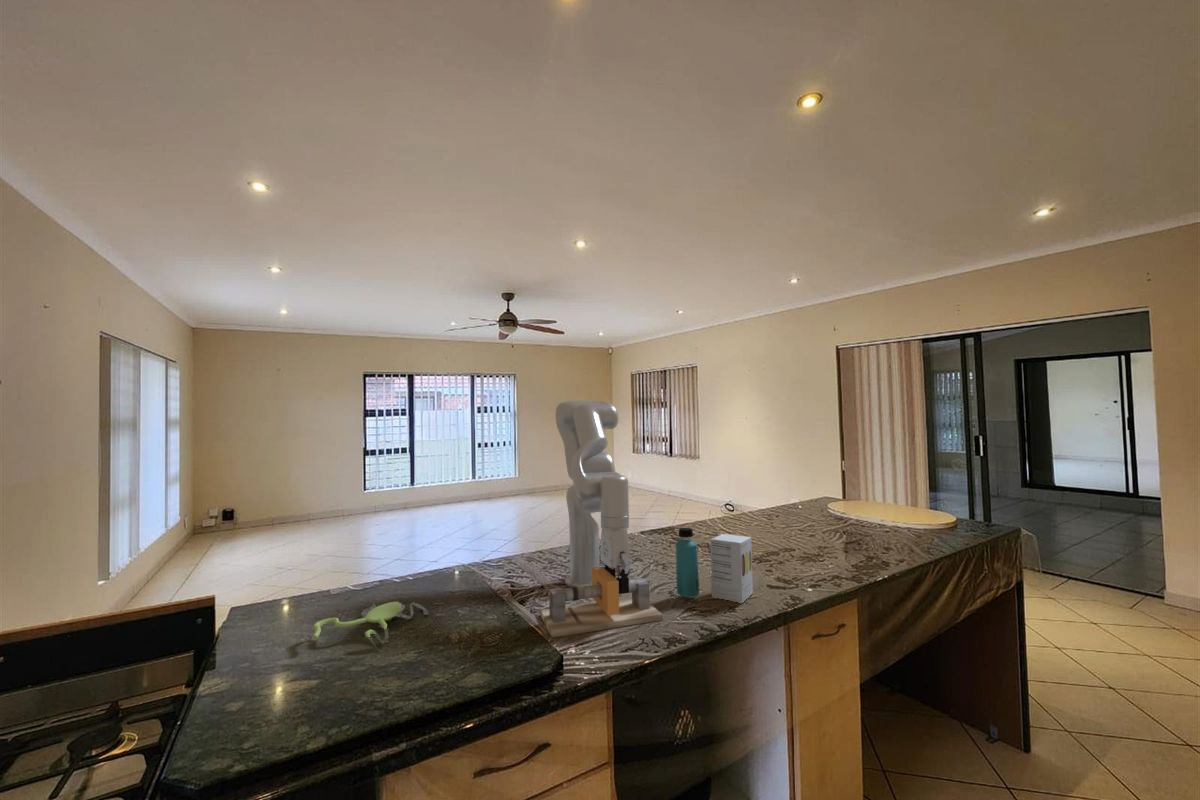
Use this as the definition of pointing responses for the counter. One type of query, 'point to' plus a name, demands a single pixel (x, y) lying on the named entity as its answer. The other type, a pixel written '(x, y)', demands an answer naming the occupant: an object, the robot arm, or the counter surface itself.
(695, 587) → the beverage bottle
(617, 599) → the brown slab
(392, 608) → the figurine
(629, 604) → the pipe rig
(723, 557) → the supplement box
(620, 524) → the robot arm
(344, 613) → the counter surface
